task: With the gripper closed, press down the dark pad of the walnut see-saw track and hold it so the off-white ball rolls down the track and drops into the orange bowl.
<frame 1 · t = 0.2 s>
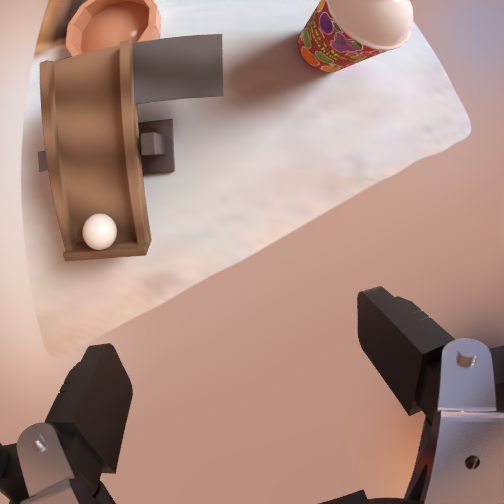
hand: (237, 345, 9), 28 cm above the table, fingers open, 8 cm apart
orange bowl: (117, 33, 28), on the table
smoothie: (321, 50, 32), on the table
stand: (115, 151, 33), on the table
ball: (99, 231, 27), point 8 cm above the table, tilted 24°, touching lever
lever: (133, 146, 26), point 7 cm above the table, hinge at 10.0°, touching ball
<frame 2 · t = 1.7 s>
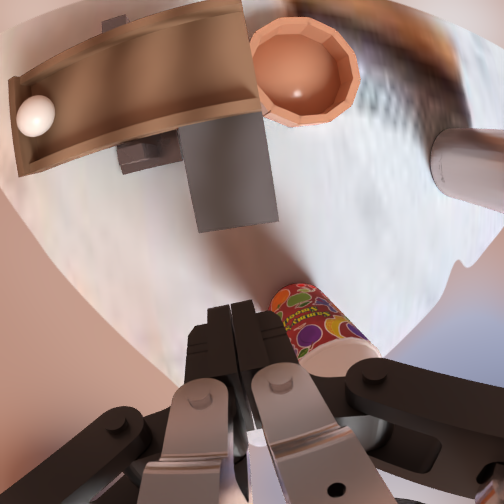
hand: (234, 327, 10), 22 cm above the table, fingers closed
orange bowl: (295, 75, 28), on the table
smoothie: (294, 304, 36), on the table
stand: (141, 100, 26), on the table
ball: (35, 115, 18), point 8 cm above the table, tilted 24°, touching lever
lever: (129, 134, 21), point 7 cm above the table, hinge at 10.0°, touching ball
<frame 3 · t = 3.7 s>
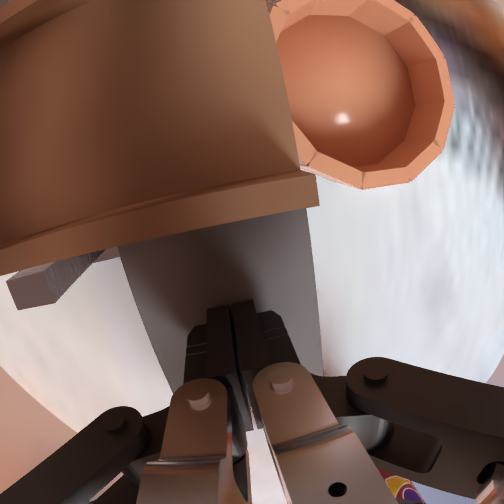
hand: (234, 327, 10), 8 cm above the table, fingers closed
orange bowl: (342, 87, 16), on the table
smoothie: (323, 419, 24), on the table
stand: (75, 141, 15), on the table
lever: (24, 243, 9), point 7 cm above the table, hinge at 2.4°, touching ball, gripper
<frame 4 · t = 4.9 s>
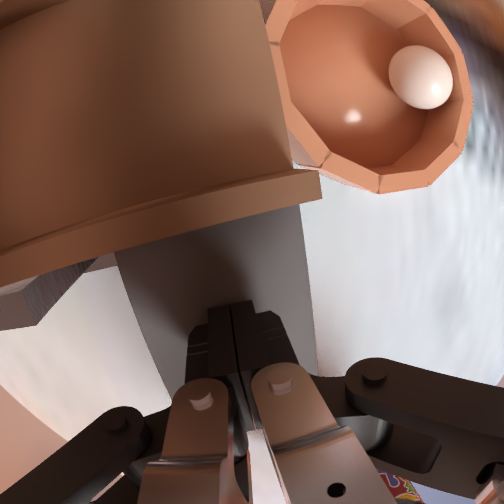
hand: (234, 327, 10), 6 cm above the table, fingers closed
orange bowl: (354, 82, 14), on the table
smoothie: (329, 431, 22), on the table
stand: (64, 140, 13), on the table
ball: (420, 77, 12), point 2 cm above the table, tilted 147°, touching orange bowl
lever: (3, 257, 8), point 7 cm above the table, hinge at -10.9°, touching gripper
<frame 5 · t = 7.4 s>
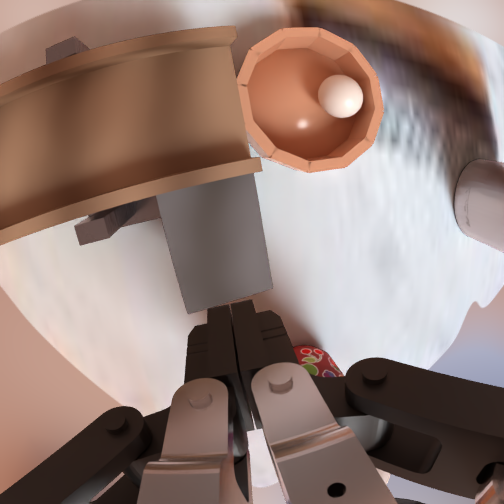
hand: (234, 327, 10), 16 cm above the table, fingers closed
orange bowl: (301, 102, 23), on the table
smoothie: (297, 365, 31), on the table
stand: (110, 140, 22), on the table
ball: (340, 96, 21), point 2 cm above the table, tilted 134°, touching orange bowl
lever: (89, 202, 16), point 7 cm above the table, hinge at -10.9°
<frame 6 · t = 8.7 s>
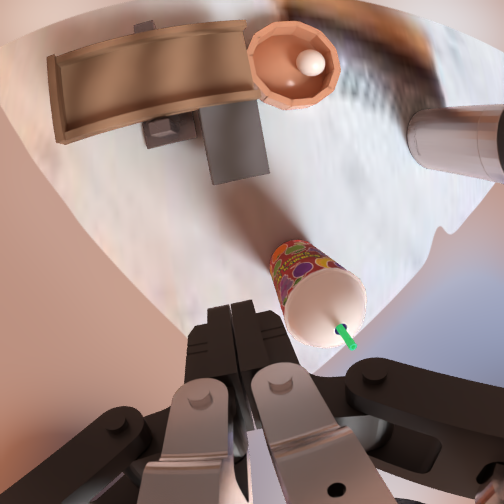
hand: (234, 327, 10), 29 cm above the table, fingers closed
orange bowl: (287, 68, 34), on the table
smoothie: (292, 260, 42), on the table
stand: (162, 89, 33), on the table
ball: (310, 62, 32), point 2 cm above the table, tilted 128°, touching orange bowl
lever: (158, 112, 27), point 7 cm above the table, hinge at -10.9°
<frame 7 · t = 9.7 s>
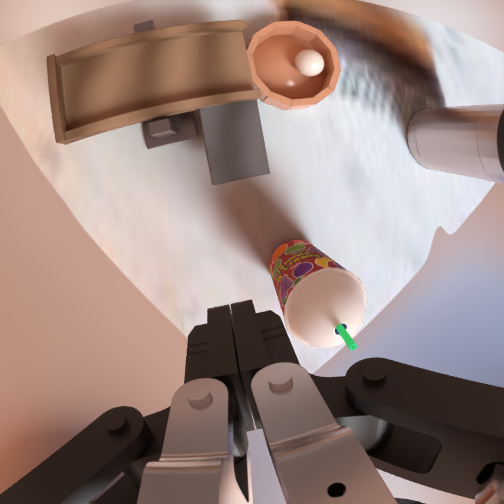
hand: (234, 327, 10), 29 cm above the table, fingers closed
orange bowl: (287, 68, 34), on the table
smoothie: (292, 260, 42), on the table
stand: (162, 89, 33), on the table
ball: (309, 62, 32), point 2 cm above the table, tilted 123°, touching orange bowl
lever: (158, 112, 27), point 7 cm above the table, hinge at -10.9°
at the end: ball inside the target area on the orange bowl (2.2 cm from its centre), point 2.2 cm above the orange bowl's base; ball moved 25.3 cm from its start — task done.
